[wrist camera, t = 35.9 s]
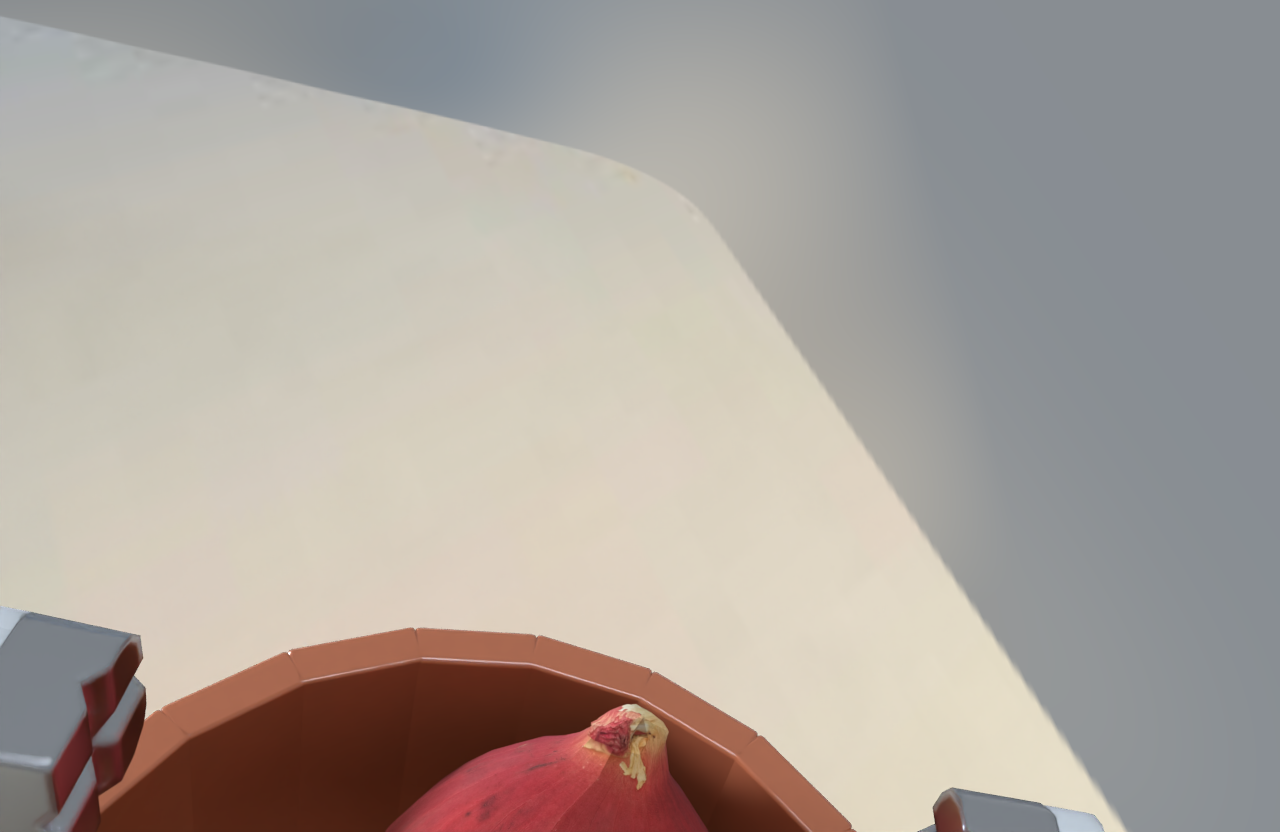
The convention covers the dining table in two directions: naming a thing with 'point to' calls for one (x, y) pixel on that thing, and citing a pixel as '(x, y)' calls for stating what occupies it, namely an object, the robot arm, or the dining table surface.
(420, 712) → the terracotta bowl
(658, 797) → the onion
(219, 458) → the dining table surface
